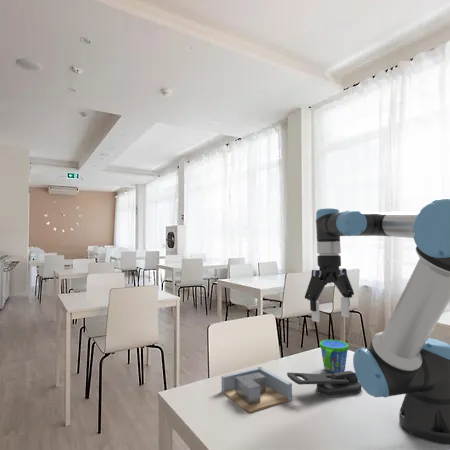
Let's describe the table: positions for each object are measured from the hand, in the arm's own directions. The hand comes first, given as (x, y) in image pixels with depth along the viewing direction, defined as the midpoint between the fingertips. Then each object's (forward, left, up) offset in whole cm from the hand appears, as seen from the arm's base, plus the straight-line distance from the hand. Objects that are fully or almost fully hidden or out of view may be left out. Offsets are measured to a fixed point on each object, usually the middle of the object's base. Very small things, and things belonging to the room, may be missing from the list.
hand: (331, 319), depth 112 cm
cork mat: (+10, +24, -24) cm, 35 cm away
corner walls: (+11, +23, -24) cm, 35 cm away
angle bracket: (+10, +24, -23) cm, 35 cm away
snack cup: (+13, -15, -24) cm, 31 cm away
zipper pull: (+1, +2, -24) cm, 24 cm away
